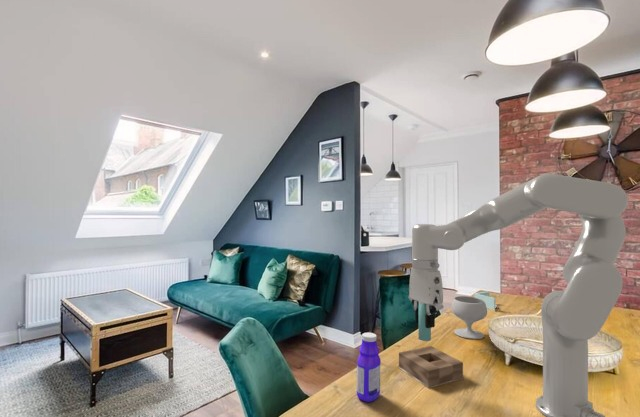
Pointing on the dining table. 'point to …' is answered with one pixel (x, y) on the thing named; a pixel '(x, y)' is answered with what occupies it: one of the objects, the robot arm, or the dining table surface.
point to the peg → (423, 323)
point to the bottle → (368, 369)
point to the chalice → (469, 315)
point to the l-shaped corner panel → (486, 299)
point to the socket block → (430, 366)
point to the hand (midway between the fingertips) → (424, 324)
